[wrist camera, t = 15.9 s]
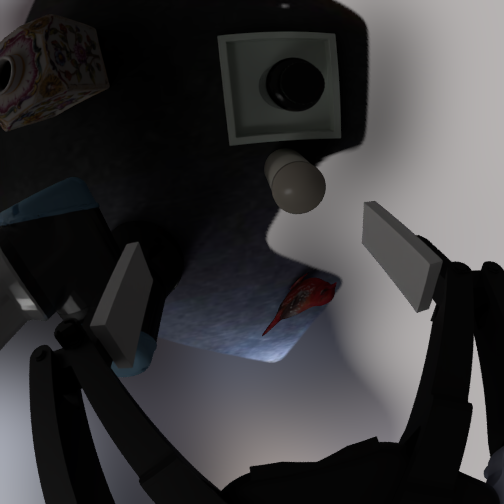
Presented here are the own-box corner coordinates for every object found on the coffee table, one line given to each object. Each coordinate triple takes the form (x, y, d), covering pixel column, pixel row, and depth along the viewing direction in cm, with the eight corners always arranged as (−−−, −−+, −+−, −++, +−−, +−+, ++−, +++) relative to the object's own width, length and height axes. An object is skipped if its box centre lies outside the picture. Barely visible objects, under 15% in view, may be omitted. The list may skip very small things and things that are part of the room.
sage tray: (229, 142, 40) (229, 145, 38) (218, 39, 32) (217, 36, 29) (334, 135, 41) (341, 138, 38) (328, 37, 32) (335, 33, 30)
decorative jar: (112, 88, 34) (46, 94, 19) (54, 118, 34) (-19, 144, 19) (97, 25, 28) (31, 3, 12) (39, 59, 28) (-34, 62, 13)
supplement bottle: (312, 99, 37) (343, 103, 26) (269, 115, 38) (286, 124, 27) (294, 57, 33) (320, 45, 23) (249, 73, 34) (258, 66, 24)
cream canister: (264, 190, 45) (273, 216, 37) (261, 148, 41) (270, 164, 33) (306, 187, 45) (325, 211, 37) (306, 146, 41) (325, 161, 33)
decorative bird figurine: (328, 260, 53) (345, 294, 44) (264, 317, 59) (269, 354, 50) (318, 252, 52) (335, 286, 43) (253, 310, 58) (258, 348, 49)
